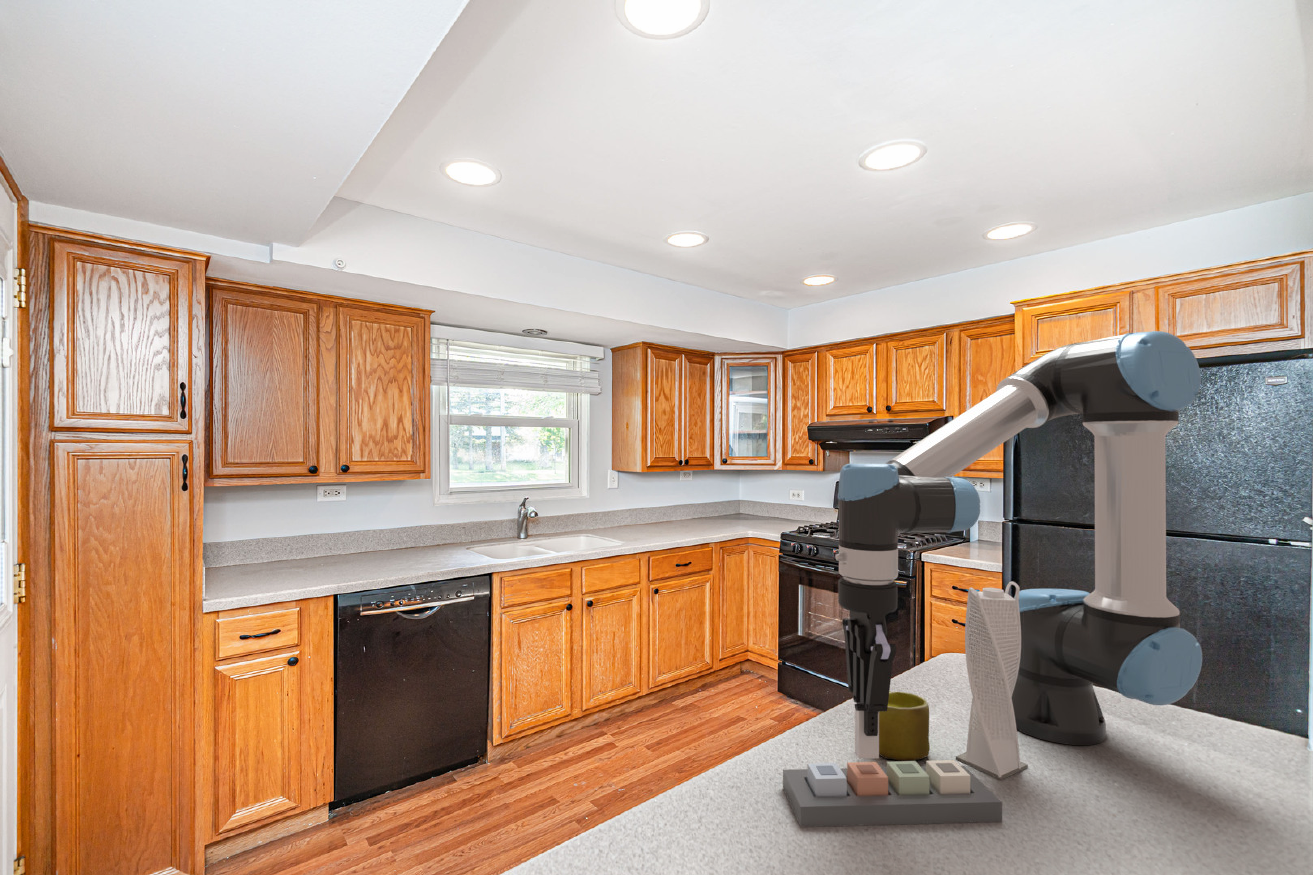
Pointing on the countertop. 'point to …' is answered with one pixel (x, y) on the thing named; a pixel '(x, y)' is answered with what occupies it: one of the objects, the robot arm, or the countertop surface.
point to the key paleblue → (826, 780)
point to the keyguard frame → (889, 805)
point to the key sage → (907, 778)
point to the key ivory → (948, 777)
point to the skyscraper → (993, 680)
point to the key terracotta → (867, 779)
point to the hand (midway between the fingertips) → (866, 755)
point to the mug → (904, 727)
